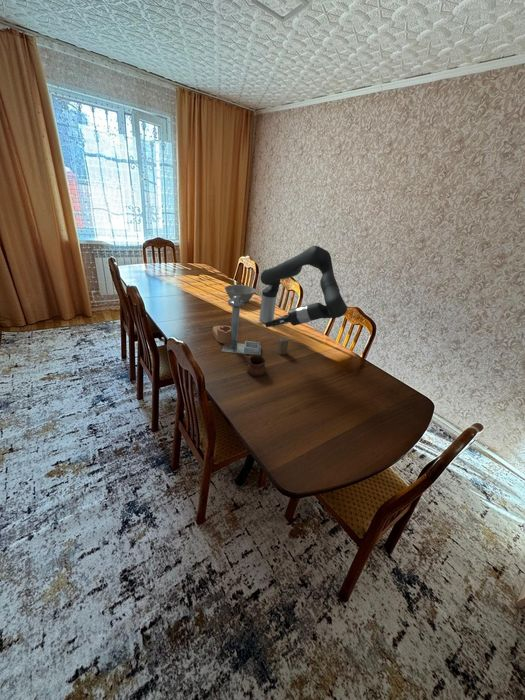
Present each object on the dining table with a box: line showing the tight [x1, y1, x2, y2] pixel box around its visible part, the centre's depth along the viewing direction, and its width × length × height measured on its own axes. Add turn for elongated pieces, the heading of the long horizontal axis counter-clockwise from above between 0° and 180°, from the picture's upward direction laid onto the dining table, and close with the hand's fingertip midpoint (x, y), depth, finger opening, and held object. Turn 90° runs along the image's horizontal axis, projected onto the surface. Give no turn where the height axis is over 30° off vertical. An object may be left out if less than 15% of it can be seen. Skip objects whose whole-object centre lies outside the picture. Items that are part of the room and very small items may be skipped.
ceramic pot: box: [236, 355, 267, 378], centre depth 130 cm, size 18×18×7 cm
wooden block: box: [276, 337, 289, 356], centre depth 149 cm, size 4×4×8 cm
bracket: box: [212, 325, 231, 344], centre depth 158 cm, size 18×8×7 cm, turn 23°
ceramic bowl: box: [224, 284, 256, 304], centre depth 211 cm, size 22×23×10 cm
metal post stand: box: [221, 296, 262, 356], centre depth 143 cm, size 10×20×28 cm, turn 90°
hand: (269, 323), depth 136 cm, fingers open, 8 cm apart
